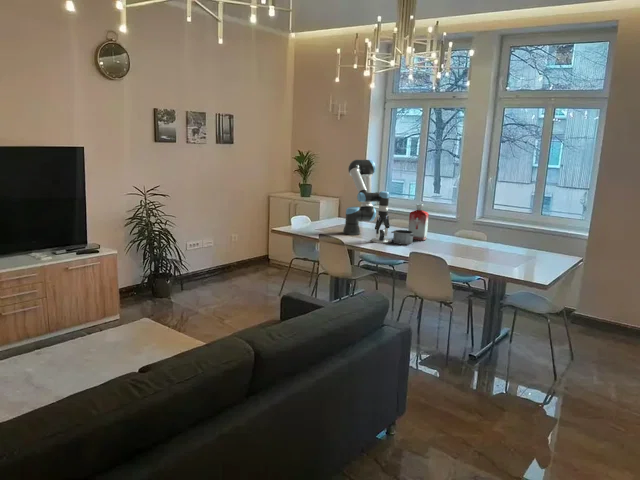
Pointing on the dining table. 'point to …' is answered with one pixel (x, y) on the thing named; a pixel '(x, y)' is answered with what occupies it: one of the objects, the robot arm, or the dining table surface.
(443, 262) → the dining table surface
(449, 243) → the dining table surface
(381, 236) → the lid
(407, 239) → the pot
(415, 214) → the bottle
